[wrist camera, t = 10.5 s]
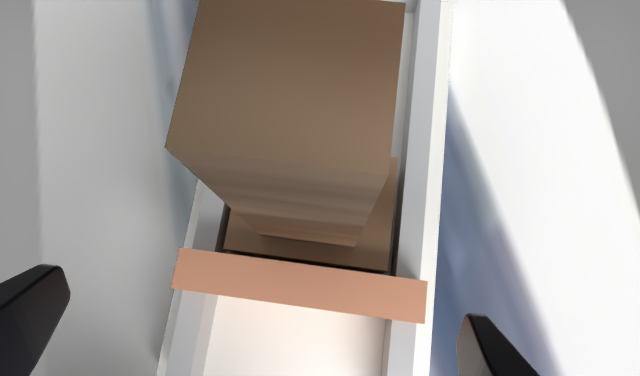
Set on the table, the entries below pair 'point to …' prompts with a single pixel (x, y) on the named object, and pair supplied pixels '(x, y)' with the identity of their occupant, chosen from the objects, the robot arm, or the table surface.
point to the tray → (323, 281)
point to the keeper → (295, 125)
